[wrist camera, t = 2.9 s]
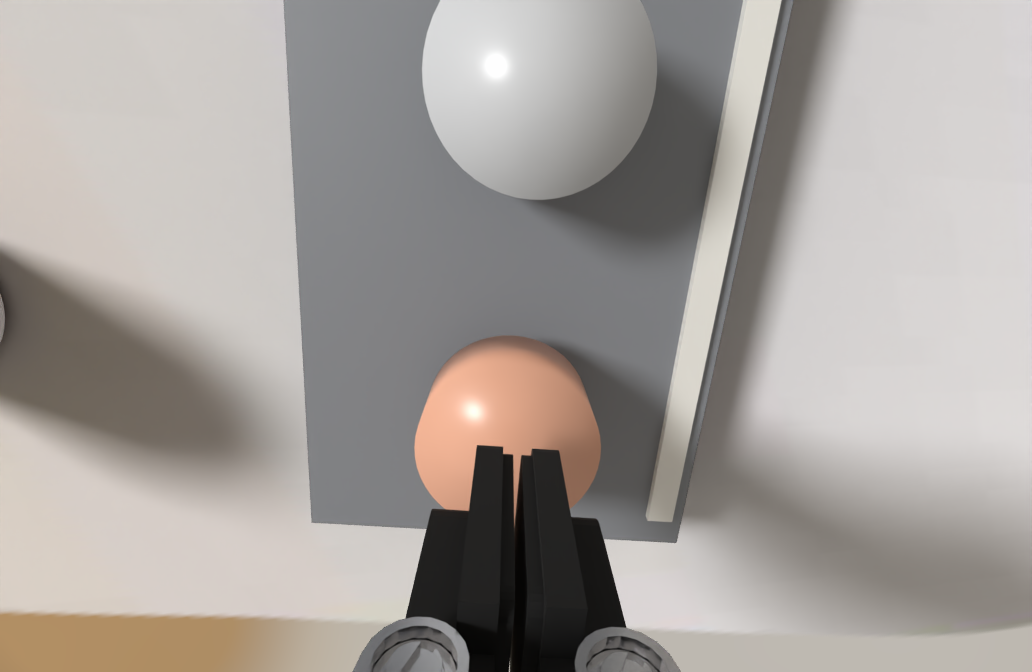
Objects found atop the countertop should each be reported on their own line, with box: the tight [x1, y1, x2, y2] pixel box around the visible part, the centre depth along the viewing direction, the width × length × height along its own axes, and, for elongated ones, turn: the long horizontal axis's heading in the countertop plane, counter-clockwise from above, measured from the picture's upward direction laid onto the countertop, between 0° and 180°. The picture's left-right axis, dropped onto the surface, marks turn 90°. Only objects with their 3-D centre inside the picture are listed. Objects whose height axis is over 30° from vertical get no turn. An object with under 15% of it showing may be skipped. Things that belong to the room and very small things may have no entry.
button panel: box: [284, 0, 794, 543], centre depth 14 cm, size 26×12×3 cm, turn 175°
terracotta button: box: [414, 335, 601, 526], centre depth 13 cm, size 4×4×2 cm
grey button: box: [422, 0, 657, 200], centre depth 11 cm, size 4×4×2 cm
